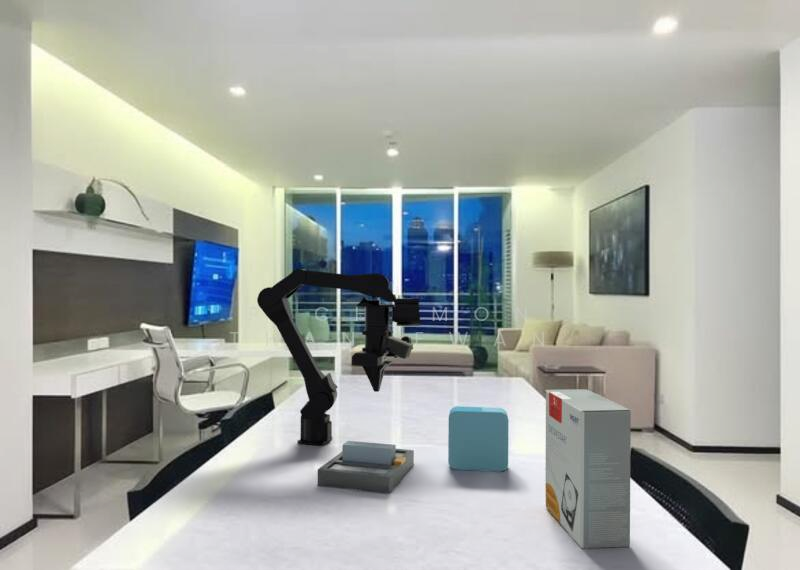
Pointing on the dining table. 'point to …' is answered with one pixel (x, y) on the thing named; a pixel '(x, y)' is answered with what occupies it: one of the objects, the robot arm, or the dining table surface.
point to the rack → (365, 473)
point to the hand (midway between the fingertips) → (376, 391)
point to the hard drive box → (588, 467)
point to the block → (369, 452)
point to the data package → (478, 439)
